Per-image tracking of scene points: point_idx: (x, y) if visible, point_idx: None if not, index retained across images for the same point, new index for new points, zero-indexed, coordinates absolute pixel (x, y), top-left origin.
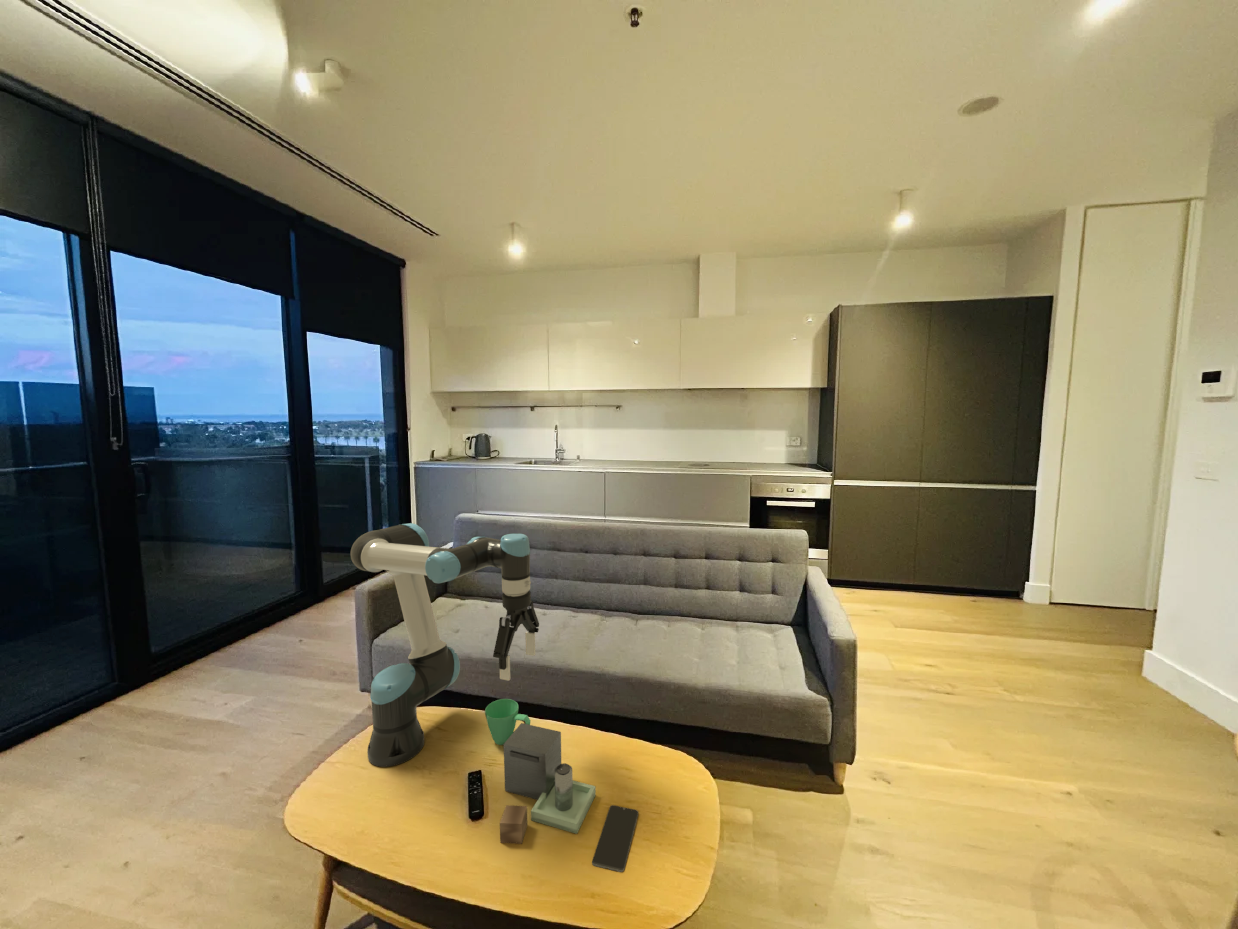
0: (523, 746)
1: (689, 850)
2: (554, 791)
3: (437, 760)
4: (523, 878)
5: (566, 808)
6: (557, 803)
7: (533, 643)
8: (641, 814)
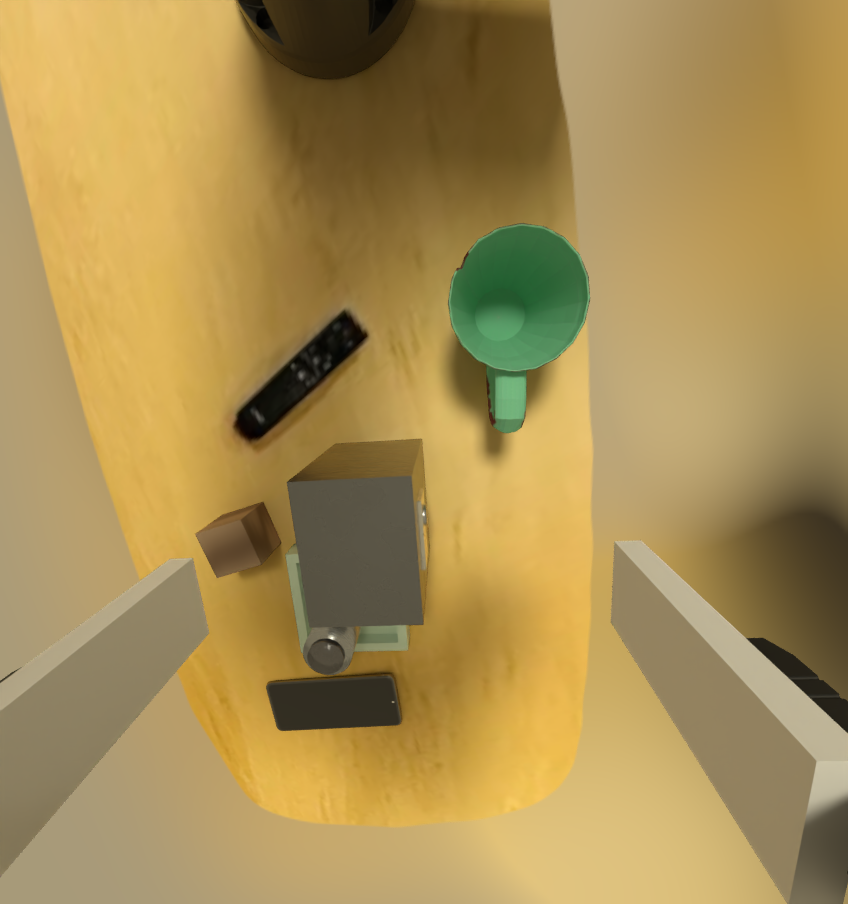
0: (307, 550)
1: (365, 805)
2: None
3: (344, 174)
4: None
5: None
6: None
7: (680, 729)
8: (402, 725)
